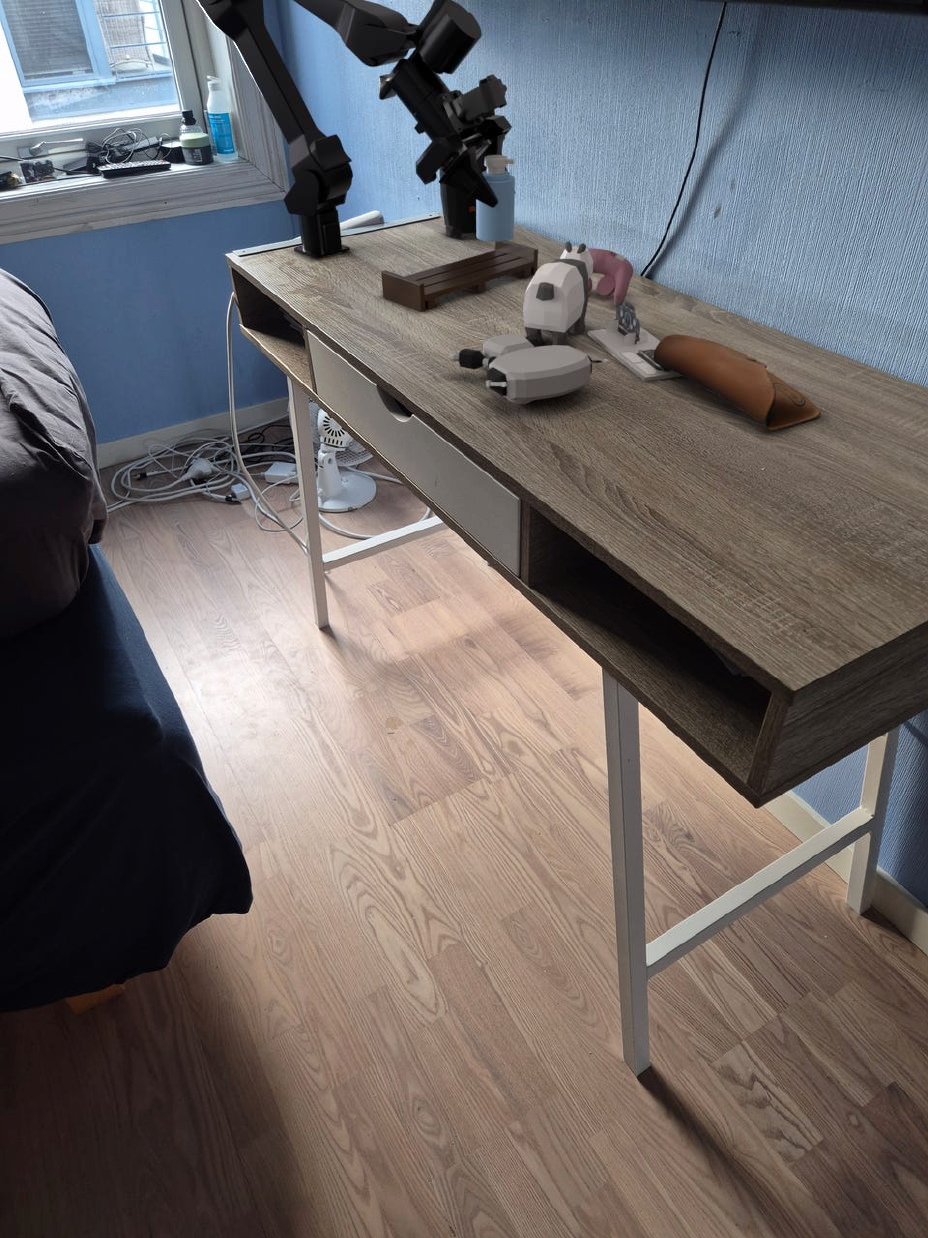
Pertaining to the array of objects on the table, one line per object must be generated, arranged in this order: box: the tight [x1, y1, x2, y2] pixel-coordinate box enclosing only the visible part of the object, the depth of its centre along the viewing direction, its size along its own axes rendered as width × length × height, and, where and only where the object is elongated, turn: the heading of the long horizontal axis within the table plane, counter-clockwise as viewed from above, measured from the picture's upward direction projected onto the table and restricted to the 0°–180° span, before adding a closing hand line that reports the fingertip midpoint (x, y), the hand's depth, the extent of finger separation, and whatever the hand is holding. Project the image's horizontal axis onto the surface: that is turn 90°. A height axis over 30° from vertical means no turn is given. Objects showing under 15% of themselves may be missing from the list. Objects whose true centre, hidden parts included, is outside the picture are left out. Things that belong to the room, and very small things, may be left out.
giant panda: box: [522, 241, 594, 346], centre depth 104 cm, size 15×6×10 cm, turn 155°
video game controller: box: [587, 247, 634, 307], centre depth 115 cm, size 10×5×7 cm, turn 65°
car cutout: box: [587, 300, 683, 382], centre depth 100 cm, size 15×7×4 cm, turn 18°
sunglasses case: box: [653, 334, 822, 432], centre depth 91 cm, size 18×7×7 cm, turn 28°
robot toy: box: [448, 333, 609, 405], centre depth 93 cm, size 12×4×15 cm
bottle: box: [476, 154, 516, 243], centre depth 118 cm, size 5×5×10 cm
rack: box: [380, 240, 539, 312], centre depth 120 cm, size 8×22×4 cm, turn 133°
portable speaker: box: [438, 109, 496, 239], centre depth 136 cm, size 9×9×20 cm
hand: (504, 200), depth 118 cm, fingers closed on bottle, 5 cm apart
